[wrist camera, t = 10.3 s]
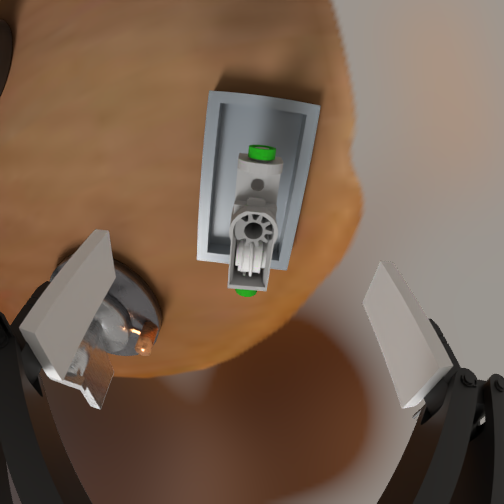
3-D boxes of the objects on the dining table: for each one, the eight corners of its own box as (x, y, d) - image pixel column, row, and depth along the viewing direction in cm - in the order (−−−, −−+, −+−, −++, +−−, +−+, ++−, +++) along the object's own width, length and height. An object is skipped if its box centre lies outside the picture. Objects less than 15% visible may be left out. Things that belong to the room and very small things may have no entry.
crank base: (44, 244, 30) (19, 270, 25) (157, 261, 31) (140, 294, 26) (72, 333, 39) (58, 359, 34) (166, 354, 40) (158, 386, 35)
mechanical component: (275, 132, 23) (290, 153, 15) (262, 235, 29) (266, 300, 20) (242, 129, 23) (235, 147, 15) (232, 232, 28) (224, 297, 20)
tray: (213, 91, 22) (209, 90, 20) (314, 104, 23) (320, 105, 20) (200, 247, 30) (196, 259, 28) (284, 257, 31) (286, 270, 29)
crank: (60, 280, 30) (15, 341, 21) (126, 293, 31) (89, 368, 21) (86, 354, 38) (62, 409, 28) (142, 367, 38) (124, 430, 29)
